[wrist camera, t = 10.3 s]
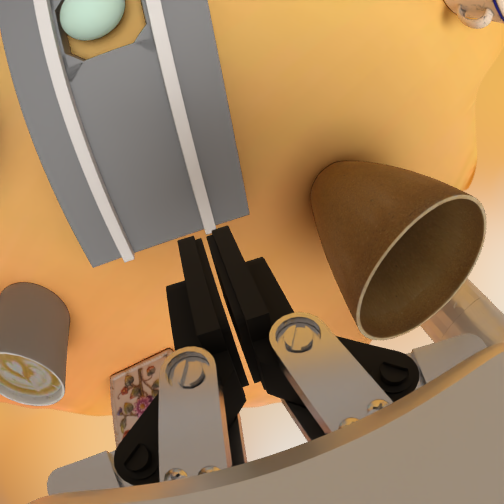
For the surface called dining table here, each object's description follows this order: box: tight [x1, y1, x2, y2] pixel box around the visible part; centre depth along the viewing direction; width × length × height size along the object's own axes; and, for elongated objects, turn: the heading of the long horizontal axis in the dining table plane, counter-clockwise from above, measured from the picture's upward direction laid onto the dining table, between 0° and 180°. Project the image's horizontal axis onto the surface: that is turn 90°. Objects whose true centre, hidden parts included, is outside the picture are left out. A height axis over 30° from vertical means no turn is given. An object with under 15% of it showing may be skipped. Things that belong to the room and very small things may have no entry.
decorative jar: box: [110, 349, 173, 447], centre depth 38 cm, size 12×12×18 cm
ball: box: [60, 0, 125, 40], centre depth 15 cm, size 5×5×5 cm
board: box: [0, 0, 249, 268], centre depth 21 cm, size 28×16×4 cm, turn 9°
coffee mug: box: [0, 283, 70, 406], centre depth 28 cm, size 13×10×10 cm
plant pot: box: [310, 161, 486, 340], centre depth 29 cm, size 15×15×16 cm
